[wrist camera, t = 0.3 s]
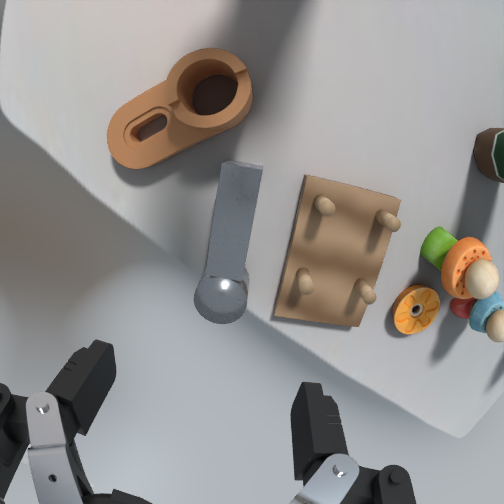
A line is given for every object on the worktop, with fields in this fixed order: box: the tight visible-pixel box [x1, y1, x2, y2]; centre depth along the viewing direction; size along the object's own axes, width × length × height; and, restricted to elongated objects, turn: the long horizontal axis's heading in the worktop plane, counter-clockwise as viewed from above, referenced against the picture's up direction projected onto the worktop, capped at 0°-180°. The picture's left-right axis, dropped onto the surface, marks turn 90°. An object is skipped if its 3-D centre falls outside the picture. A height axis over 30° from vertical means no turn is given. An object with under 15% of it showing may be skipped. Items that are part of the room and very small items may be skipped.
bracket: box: [107, 48, 253, 169], centre depth 29 cm, size 18×8×7 cm, turn 113°
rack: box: [274, 175, 401, 327], centre depth 34 cm, size 18×12×6 cm, turn 170°
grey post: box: [194, 160, 263, 324], centre depth 34 cm, size 18×6×6 cm, turn 170°
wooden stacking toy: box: [393, 226, 504, 342], centre depth 32 cm, size 18×17×12 cm
